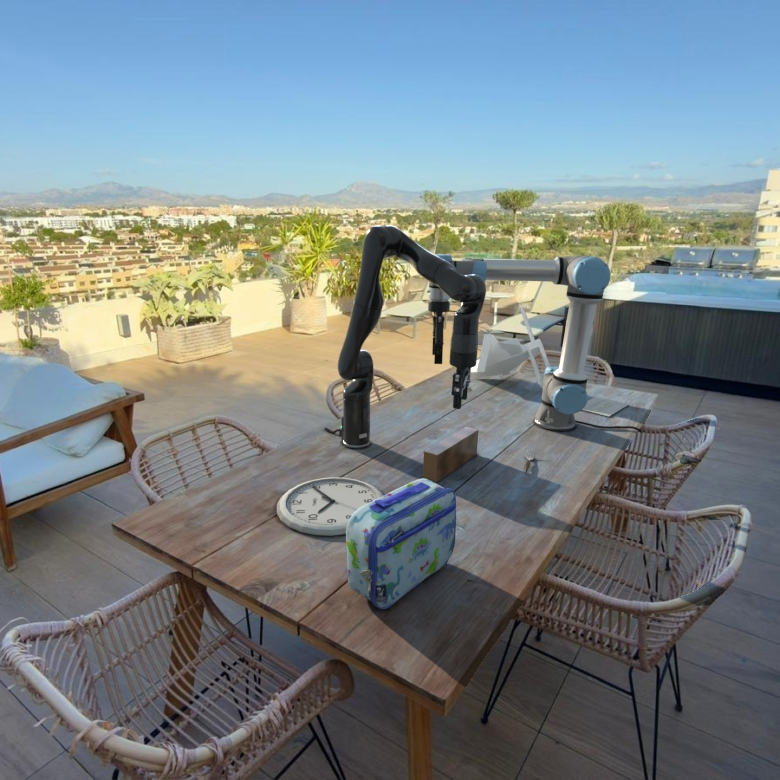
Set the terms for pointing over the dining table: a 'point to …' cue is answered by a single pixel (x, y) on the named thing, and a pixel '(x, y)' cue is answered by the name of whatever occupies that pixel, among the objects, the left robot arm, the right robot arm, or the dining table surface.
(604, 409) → the invitation card
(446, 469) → the bar
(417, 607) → the dining table surface
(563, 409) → the right robot arm
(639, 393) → the dining table surface
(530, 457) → the fork
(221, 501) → the dining table surface
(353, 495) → the wall clock
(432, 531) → the lunch box
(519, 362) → the white plastic object
